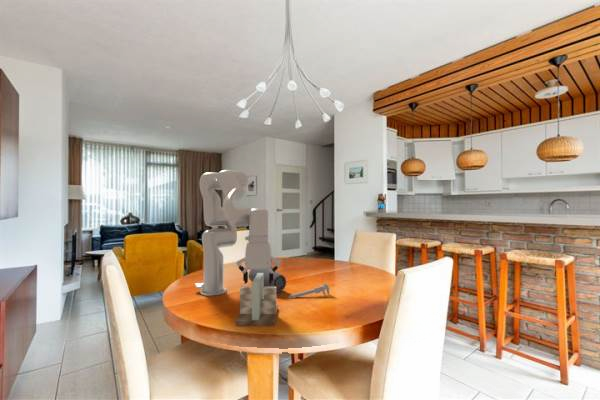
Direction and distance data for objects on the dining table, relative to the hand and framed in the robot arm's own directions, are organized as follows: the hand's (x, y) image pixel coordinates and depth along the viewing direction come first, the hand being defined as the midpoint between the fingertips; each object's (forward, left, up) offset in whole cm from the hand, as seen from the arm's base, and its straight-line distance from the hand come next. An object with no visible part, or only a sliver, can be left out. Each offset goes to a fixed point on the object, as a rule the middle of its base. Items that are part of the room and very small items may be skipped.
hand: (258, 282), depth 111 cm
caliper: (+21, +24, -14) cm, 35 cm away
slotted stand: (0, 0, -13) cm, 13 cm away
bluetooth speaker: (-1, +36, -14) cm, 38 cm away
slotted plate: (0, 0, -12) cm, 12 cm away
